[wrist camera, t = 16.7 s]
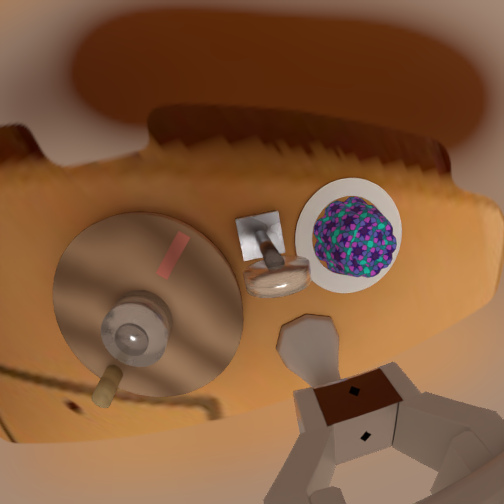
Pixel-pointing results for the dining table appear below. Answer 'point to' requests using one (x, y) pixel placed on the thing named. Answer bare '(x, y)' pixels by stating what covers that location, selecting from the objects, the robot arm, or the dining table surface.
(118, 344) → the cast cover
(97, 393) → the turntable
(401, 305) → the dining table surface
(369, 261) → the pudding
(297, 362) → the flask
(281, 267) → the grey knobbed rod
